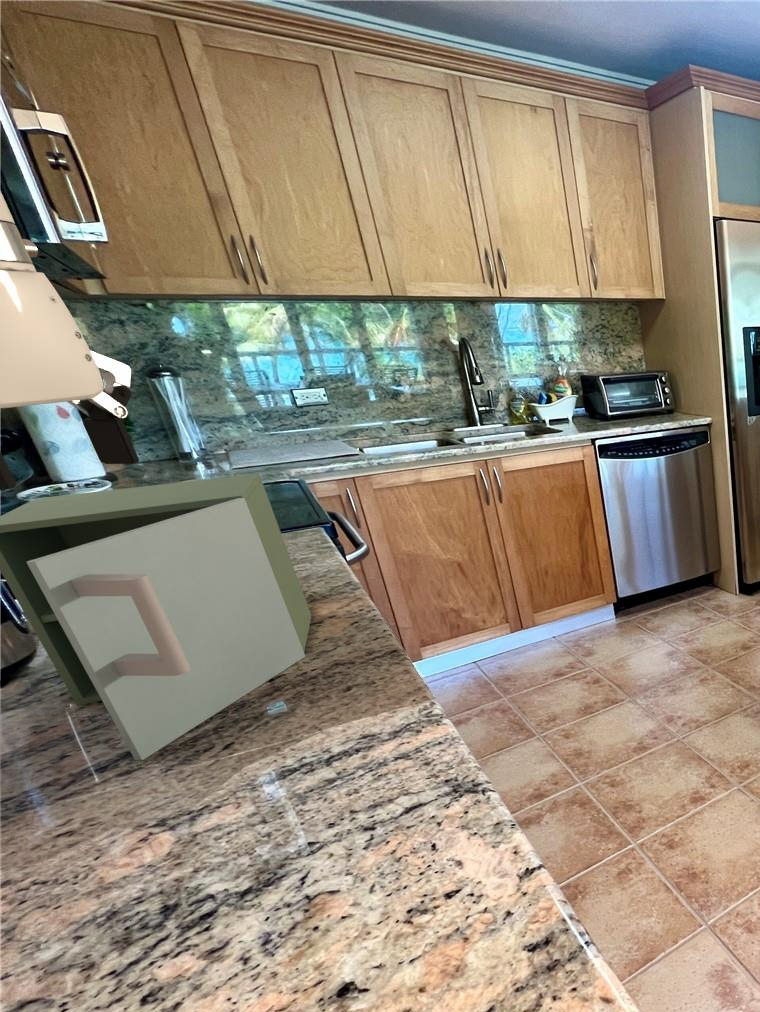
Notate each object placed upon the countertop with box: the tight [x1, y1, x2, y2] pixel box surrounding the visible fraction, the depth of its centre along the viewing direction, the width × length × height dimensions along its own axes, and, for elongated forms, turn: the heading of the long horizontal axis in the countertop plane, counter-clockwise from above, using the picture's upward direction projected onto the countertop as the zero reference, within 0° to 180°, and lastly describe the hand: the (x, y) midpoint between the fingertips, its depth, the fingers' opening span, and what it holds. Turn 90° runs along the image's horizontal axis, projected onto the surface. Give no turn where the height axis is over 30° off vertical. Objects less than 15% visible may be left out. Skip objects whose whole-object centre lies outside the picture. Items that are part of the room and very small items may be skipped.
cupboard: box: [0, 473, 312, 707], centre depth 81 cm, size 15×22×22 cm
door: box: [27, 498, 306, 762], centre depth 69 cm, size 7×22×21 cm, turn 177°
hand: (63, 475), depth 55 cm, fingers open, 9 cm apart
